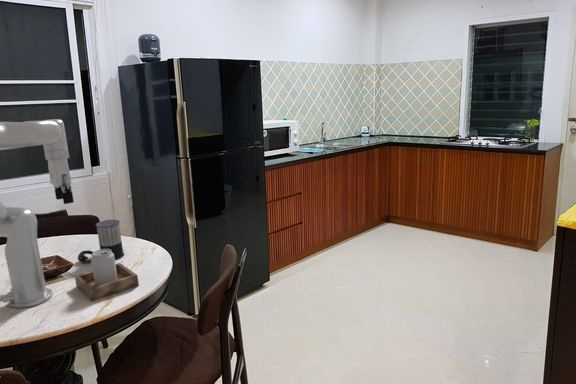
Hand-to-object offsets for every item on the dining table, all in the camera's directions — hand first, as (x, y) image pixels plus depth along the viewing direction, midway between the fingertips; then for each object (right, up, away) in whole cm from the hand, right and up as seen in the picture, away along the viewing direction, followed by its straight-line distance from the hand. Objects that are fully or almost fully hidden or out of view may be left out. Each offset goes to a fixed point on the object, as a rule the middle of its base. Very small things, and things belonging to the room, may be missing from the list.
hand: (64, 200), depth 162 cm
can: (+18, -29, -7) cm, 35 cm away
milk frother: (+5, -24, +20) cm, 32 cm away
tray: (+18, -30, -6) cm, 35 cm away
